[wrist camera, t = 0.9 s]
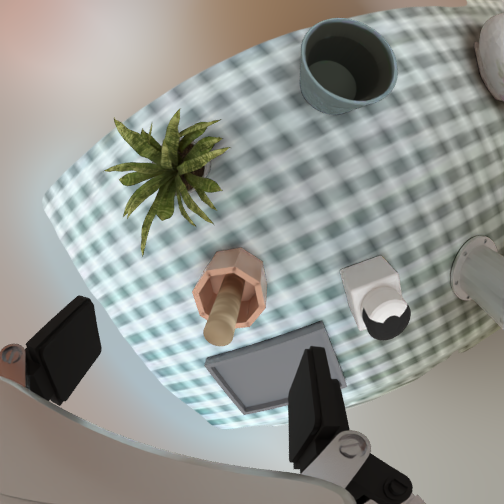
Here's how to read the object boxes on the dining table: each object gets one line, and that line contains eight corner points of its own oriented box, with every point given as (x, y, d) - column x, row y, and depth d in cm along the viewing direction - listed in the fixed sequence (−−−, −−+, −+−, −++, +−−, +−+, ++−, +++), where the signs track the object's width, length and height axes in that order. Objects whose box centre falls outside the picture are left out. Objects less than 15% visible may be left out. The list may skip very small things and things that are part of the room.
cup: (277, 270, 41) (277, 293, 34) (244, 312, 44) (239, 338, 37) (225, 237, 40) (216, 254, 33) (196, 282, 43) (183, 305, 36)
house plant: (242, 226, 39) (222, 274, 24) (151, 219, 40) (90, 258, 24) (249, 124, 34) (231, 102, 19) (153, 125, 35) (85, 114, 20)
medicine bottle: (388, 292, 41) (417, 334, 30) (348, 306, 42) (368, 354, 31) (381, 253, 39) (414, 289, 28) (338, 269, 40) (360, 311, 29)
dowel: (249, 278, 41) (238, 332, 28) (237, 293, 42) (223, 350, 29) (231, 266, 40) (212, 317, 28) (220, 282, 41) (198, 336, 29)
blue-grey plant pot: (330, 133, 34) (355, 124, 22) (277, 81, 32) (278, 51, 21) (377, 91, 31) (415, 71, 19) (326, 41, 29) (345, 3, 18)
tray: (322, 320, 43) (324, 328, 41) (345, 379, 48) (346, 386, 46) (206, 357, 48) (204, 365, 46) (244, 407, 52) (243, 414, 50)
